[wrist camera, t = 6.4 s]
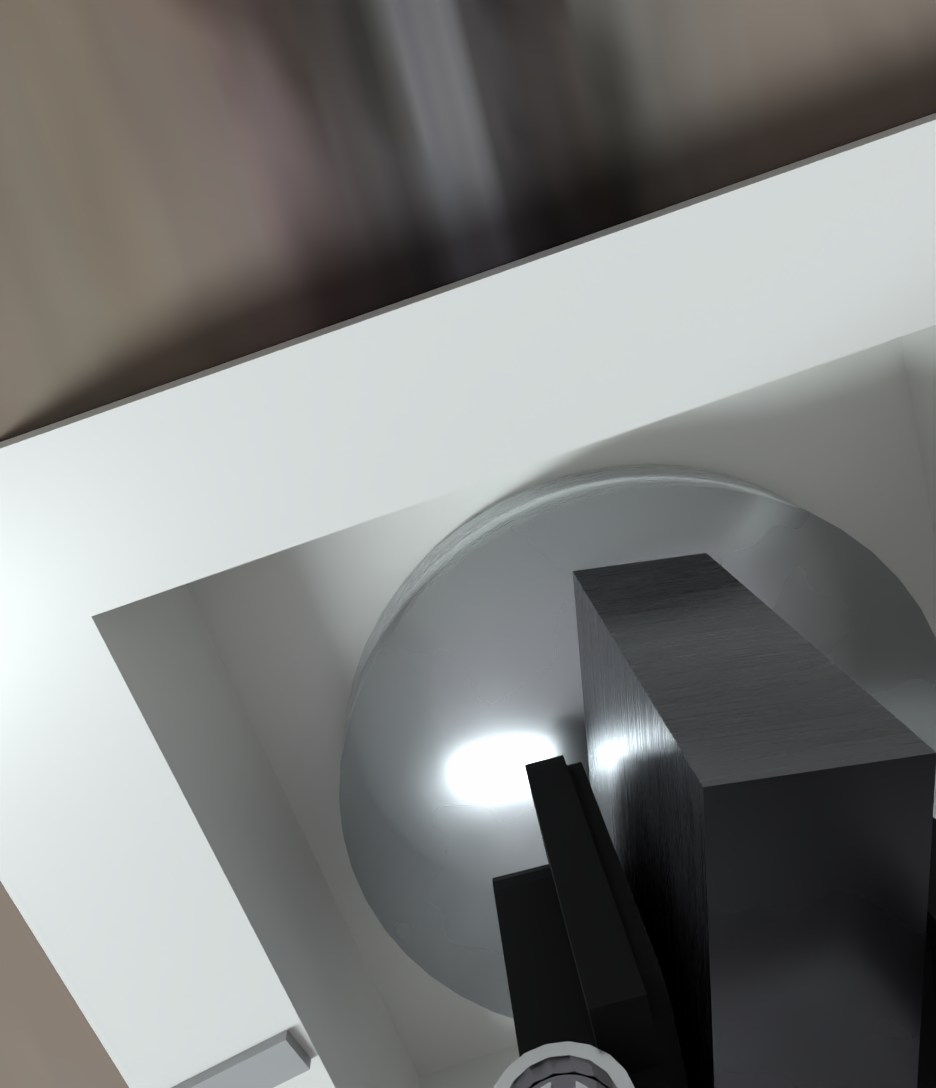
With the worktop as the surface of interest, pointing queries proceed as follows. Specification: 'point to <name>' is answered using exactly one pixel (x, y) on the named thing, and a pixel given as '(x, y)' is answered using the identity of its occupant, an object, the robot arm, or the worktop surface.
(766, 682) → the dial
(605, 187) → the worktop surface
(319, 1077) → the dial housing
